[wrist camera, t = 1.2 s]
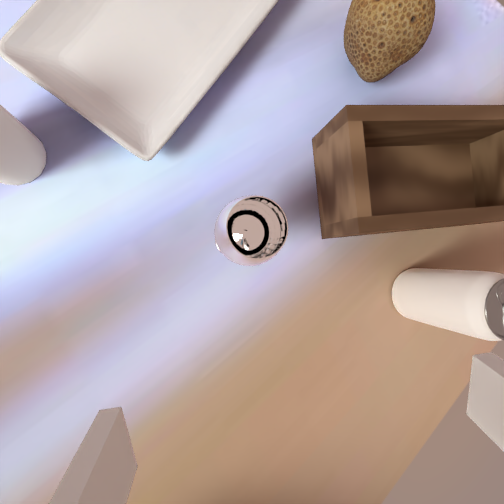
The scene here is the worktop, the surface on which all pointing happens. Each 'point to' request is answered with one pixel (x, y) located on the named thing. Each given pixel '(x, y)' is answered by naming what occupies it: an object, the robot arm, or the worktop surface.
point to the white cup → (19, 152)
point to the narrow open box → (409, 168)
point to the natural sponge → (385, 34)
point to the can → (453, 300)
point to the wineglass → (251, 230)
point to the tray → (131, 59)
